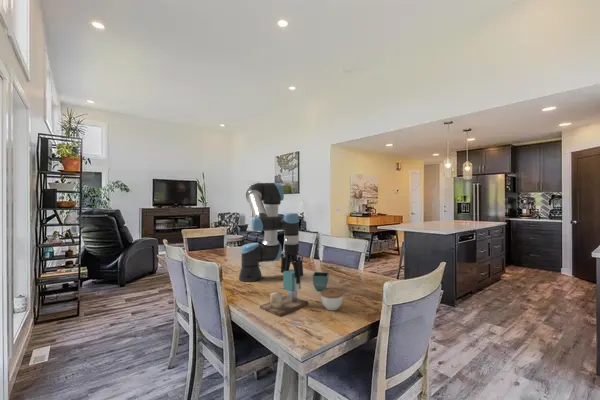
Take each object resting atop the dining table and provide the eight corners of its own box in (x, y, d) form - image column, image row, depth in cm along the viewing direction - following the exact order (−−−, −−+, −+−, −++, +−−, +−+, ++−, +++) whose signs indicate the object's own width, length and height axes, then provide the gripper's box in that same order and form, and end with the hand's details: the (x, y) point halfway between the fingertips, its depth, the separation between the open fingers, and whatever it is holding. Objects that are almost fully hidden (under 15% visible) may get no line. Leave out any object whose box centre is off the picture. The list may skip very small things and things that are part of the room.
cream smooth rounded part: (268, 309, 141) (267, 294, 141) (276, 306, 145) (276, 291, 145) (276, 312, 138) (275, 297, 137) (284, 309, 142) (284, 294, 142)
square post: (287, 303, 149) (286, 285, 149) (292, 301, 152) (291, 283, 152) (292, 305, 147) (291, 286, 147) (297, 303, 150) (296, 284, 150)
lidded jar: (319, 304, 148) (319, 286, 148) (340, 303, 149) (340, 285, 149) (322, 312, 137) (322, 292, 137) (345, 311, 138) (345, 292, 138)
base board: (259, 308, 143) (259, 305, 143) (288, 298, 158) (288, 295, 158) (279, 316, 133) (279, 313, 133) (308, 304, 148) (308, 301, 148)
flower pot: (327, 292, 167) (327, 276, 167) (312, 291, 168) (312, 275, 168) (329, 287, 175) (328, 272, 175) (314, 286, 177) (314, 271, 177)
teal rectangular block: (283, 289, 149) (283, 271, 149) (291, 286, 154) (291, 269, 154) (292, 291, 145) (291, 273, 145) (300, 288, 150) (300, 271, 150)
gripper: (273, 242, 153) (273, 286, 153) (300, 246, 140) (300, 294, 140) (283, 240, 158) (284, 283, 159) (310, 244, 145) (311, 290, 146)
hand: (292, 288), depth 149 cm, fingers closed on teal rectangular block, 6 cm apart
